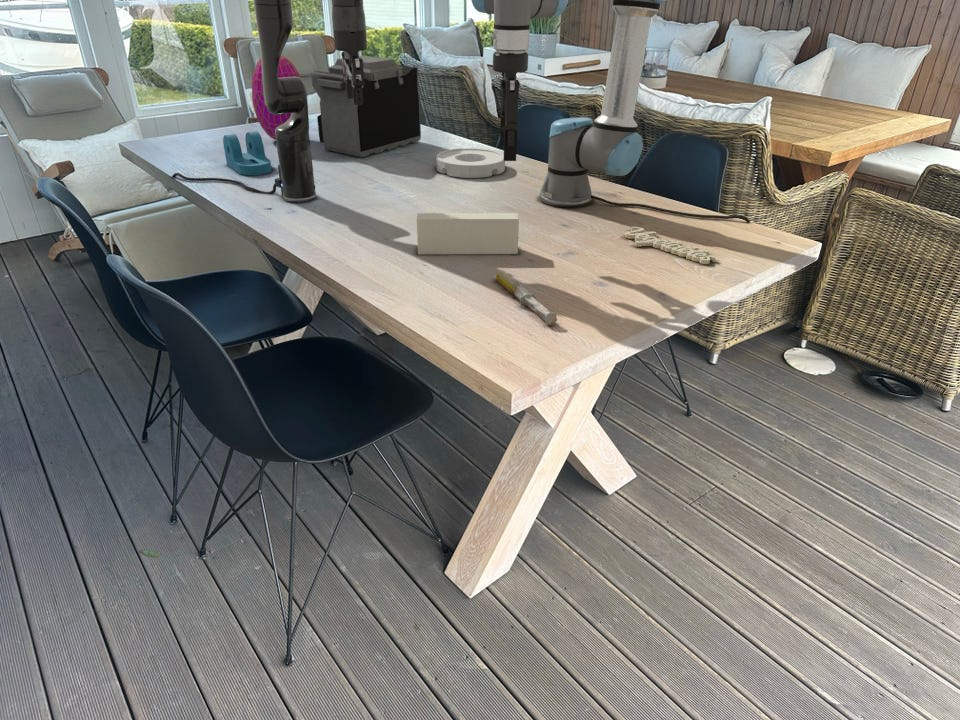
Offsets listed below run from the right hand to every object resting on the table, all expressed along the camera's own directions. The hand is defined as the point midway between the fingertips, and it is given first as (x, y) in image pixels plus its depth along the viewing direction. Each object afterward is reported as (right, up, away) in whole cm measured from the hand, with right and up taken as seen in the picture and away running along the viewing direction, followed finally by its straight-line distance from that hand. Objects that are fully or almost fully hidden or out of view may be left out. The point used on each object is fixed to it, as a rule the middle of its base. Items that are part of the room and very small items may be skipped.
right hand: (507, 153), depth 156 cm
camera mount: (-83, +17, +73) cm, 112 cm away
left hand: (-37, +16, +11) cm, 41 cm away
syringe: (+3, -35, -12) cm, 37 cm away
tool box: (-47, +33, +102) cm, 117 cm away
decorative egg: (-82, +38, +109) cm, 141 cm away
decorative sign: (+40, -19, +15) cm, 47 cm away
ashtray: (-9, +18, +76) cm, 79 cm away
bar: (-9, -20, +12) cm, 25 cm away
